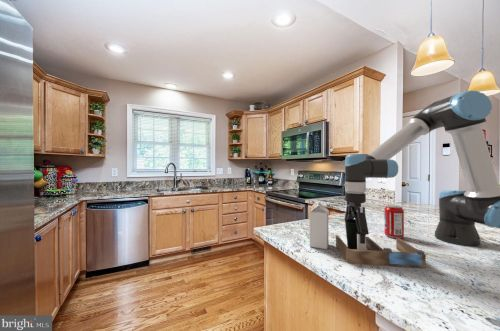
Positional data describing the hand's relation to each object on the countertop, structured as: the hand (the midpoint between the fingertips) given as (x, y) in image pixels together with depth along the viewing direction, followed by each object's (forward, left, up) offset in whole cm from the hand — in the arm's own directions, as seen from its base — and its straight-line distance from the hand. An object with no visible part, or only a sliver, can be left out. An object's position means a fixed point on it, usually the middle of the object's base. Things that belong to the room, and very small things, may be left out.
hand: (355, 244), depth 85 cm
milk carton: (+13, -4, -3) cm, 14 cm away
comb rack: (-6, +4, -3) cm, 8 cm away
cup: (0, 0, -3) cm, 3 cm away
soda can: (-25, -21, -3) cm, 32 cm away
